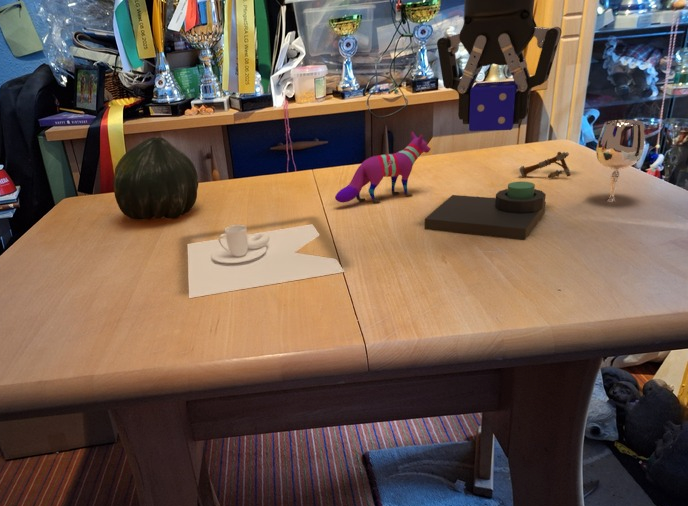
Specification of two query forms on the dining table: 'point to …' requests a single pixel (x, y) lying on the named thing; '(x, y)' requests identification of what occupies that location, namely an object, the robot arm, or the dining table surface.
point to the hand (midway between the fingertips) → (491, 122)
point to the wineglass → (620, 147)
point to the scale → (489, 215)
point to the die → (492, 106)
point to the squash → (155, 181)
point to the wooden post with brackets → (542, 164)
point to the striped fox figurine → (384, 171)
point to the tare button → (521, 190)
